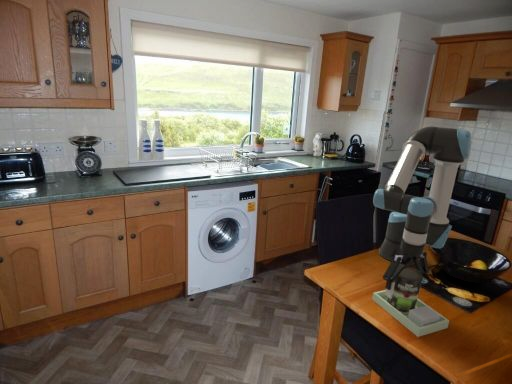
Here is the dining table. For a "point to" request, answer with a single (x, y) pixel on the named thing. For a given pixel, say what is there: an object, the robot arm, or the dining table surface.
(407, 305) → the coffee can
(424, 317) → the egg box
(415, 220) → the robot arm
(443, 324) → the tray
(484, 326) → the dining table surface
